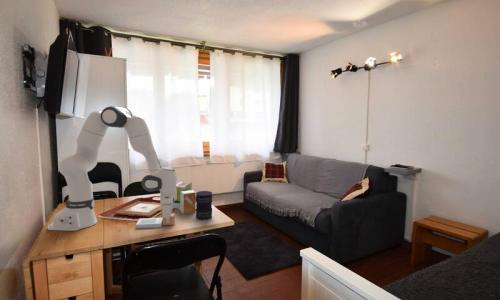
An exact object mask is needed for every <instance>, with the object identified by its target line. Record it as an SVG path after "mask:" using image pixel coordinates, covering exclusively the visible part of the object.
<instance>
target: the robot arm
mask: <svg viewBox="0 0 500 300" xmlns="http://www.w3.org/2000/svg"><path fill="white" fill-rule="evenodd" d="M109 128H120V129H122V128H123V129H124V130H125V131H126V133H127V134H126V135H127V136H128V141H129V144H130V146H131V148H132V149H133V151H134V152H136V153H139V154H140V155H142V156H143V157H144V159H145V161H146V163H147V166H148V168H149V173H147V174H145V176H144V177H142V180H141V186H142V188H143V189H144V190H145V191H147V192H155V191H159V198H160V199H159V201H160V202H159V203H160V205H161V212H162V218H166V223H170V216H171V213H172V212H173V209H174V208H173V207H174V201H175V200H176V199H177V189H176V184H177V182H178V181H177V172H176V169H174V168H173V167H169V166H168V167H167V166H163V167H162V166H161V164H160V161H159V158H158V156H157V152H156V150H155V146H154V145H153V140H152V136H151V133H150V130H149V127H148V124H147V122H146V120H145V119H144V117H142V116H140V115H133V113H132V111H131V110H130V109H128V108H126V107H122V106H119V105H118V106H113V105H111V106H107V107H105V108H103V110H101V111H99V110H94V111H92V112H90V114H89V115H88V116H87V118H86V119H85V121H84V123H83V124H82V127H81V130H80V132H79V134H78V135H77V138H76V144H77V145H76V146H77V147H76V151H75V153H74V154H71V155H68V156H66V157H65V158H63V159H62V160H61V161H60V162H59V164H58V170H59V172H60V174H61V175H62V176H63V177H64V179H65V182H66V184H67V189H68V190H67V191H68V198H67V200H66V201H64V203H63V205H64V208H62V209H60V211H58V212H57V213H56V214H55V215H54V216H53V219H52V223H50V224H49V225H48V226H47V230H48V231H71V232H72V231H73V232H75V231H79V230H82V229H85V228H89V227H92V226H94V225H95V224H97V223H98V219H97V217H96V214H95V212H96V211H95V198H94V193H93V190H94V189H93V183H92V182H91V181H90V178H89V175H88V172H91V171H92V170H93V169H94V168H95V167H96V166H97V164H98V155H99V151H100V150H99V149H100V147H101V144H102V142H103V140H104V138H105V135H106V134H107V131H108V129H109Z"/></svg>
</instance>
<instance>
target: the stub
mask: <svg viewBox="0 0 500 300" xmlns="http://www.w3.org/2000/svg"><path fill="white" fill-rule="evenodd" d="M162 218H163V217H162ZM175 222H176V213H174V212H173V213H171V216H170V223H166V218H163V224H162V226H169V225H171V226H172V225H175Z"/></svg>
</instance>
